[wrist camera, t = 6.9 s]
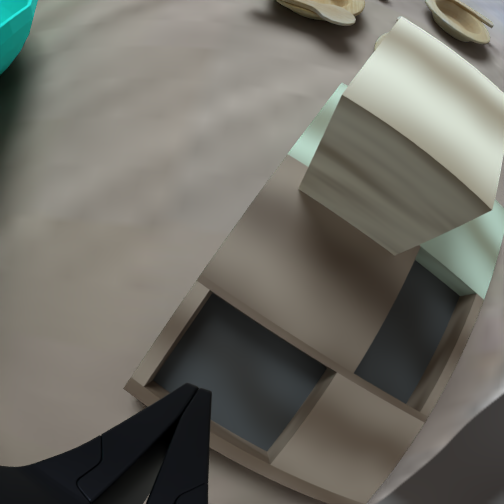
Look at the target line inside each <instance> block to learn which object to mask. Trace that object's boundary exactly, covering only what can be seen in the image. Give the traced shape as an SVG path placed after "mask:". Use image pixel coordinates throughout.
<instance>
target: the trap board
mask: <svg viewBox="0 0 504 504" xmlns="http://www.w3.org/2000/svg"><path fill="white" fill-rule="evenodd" d="M361 69H362V68H361ZM347 87H348V86H347V85H345V84H343V83H341V85H340V86H339V87H338V88H337V90H336V91H335V92H334V94H333V95H332V96H331V97H330V99H329V100H328V101H327V103H326V104H325V105H324V107H323V108H322V109H321V111H320V112H319V113H318V114H317V116H316V117H315V118H314V120H313V121H312V122H311V124H310V125H309V126H308V128H307V129H306V130H305V132H304V133H303V134H302V136H301V137H300V138H299V140H298V141H297V142H296V144H295V145H294V146H293V148H292V149H291V150H290V152H289V153H288V154H287V156H286V157H285V158H284V160H283V161H282V162H281V164H280V165H279V166H278V168H277V169H276V170H275V172H274V173H273V174H272V176H271V177H270V179H269V180H268V181H267V183H266V184H265V185H264V187H263V188H262V189H261V191H260V192H259V194H258V195H257V196H256V198H255V199H254V200H253V202H252V203H251V205H250V206H249V207H248V209H247V210H246V211H245V213H244V214H243V216H242V217H241V218H240V220H239V221H238V223H237V224H236V225H235V227H234V228H233V229H232V231H231V232H230V234H229V235H228V236H227V238H226V239H225V241H224V242H223V244H222V245H221V246H220V248H219V249H218V251H217V252H216V253H215V255H214V256H213V258H212V259H211V260H210V262H209V263H208V265H207V266H206V268H205V269H204V270H203V272H202V273H201V275H200V276H199V278H198V279H197V280H196V282H195V283H194V285H193V286H192V288H191V289H190V291H189V292H188V293H187V295H186V296H185V298H184V299H183V301H182V302H181V304H180V305H179V307H178V308H177V309H176V311H175V312H174V314H173V315H172V317H171V318H170V320H169V321H168V323H167V324H166V326H165V327H164V328H163V330H162V331H161V333H160V334H159V336H158V337H157V339H156V340H155V342H154V343H153V345H152V346H151V348H150V349H149V351H148V352H147V354H146V355H145V357H144V358H143V360H142V361H141V363H140V364H139V366H138V367H137V369H136V370H135V372H134V373H133V375H132V376H131V378H130V379H129V381H128V382H127V384H126V385H125V387H124V389H125V390H126V391H127V392H129V393H130V394H131V395H132V396H134V397H135V398H136V399H138V400H139V401H140V402H142V403H143V404H145V405H146V406H147V407H148V406H150V405H152V404H153V403H155V402H156V401H158V400H160V399H161V398H163V397H164V396H166V395H168V394H169V393H171V392H172V391H174V390H175V389H177V388H179V387H180V386H182V385H183V384H185V383H190V384H193V385H196V386H198V387H199V388H204V389H207V390H209V391H211V392H212V404H211V424H210V448H212V449H213V450H215V451H217V452H219V453H220V454H222V455H224V456H226V457H228V458H229V459H231V460H233V461H235V462H237V463H239V464H240V465H242V466H244V467H246V468H248V469H250V470H252V471H254V472H256V473H258V474H260V475H262V476H264V477H266V478H268V479H270V480H273V481H275V482H277V483H279V484H281V485H283V486H286V487H288V488H290V489H293V490H295V491H297V492H300V493H302V494H304V495H307V496H309V497H312V498H314V499H317V500H320V501H322V502H325V503H327V504H366V503H367V502H368V500H369V499H370V498H371V497H372V496H373V494H374V493H375V492H376V491H377V490H378V488H379V487H380V486H381V485H382V483H383V482H384V481H385V480H386V478H387V477H388V476H389V474H390V473H391V472H392V470H393V469H394V468H395V466H396V465H397V464H398V462H399V461H400V459H401V458H402V457H403V455H404V454H405V452H406V451H407V449H408V448H409V446H410V445H411V444H412V442H413V441H414V439H415V437H416V436H417V434H418V433H419V431H420V430H421V428H422V427H423V425H424V423H425V422H426V420H427V418H428V417H429V415H430V413H431V412H432V410H433V408H434V407H435V405H436V403H437V401H438V400H439V398H440V396H441V394H442V392H443V390H444V389H445V387H446V385H447V383H448V381H449V379H450V377H451V375H452V373H453V371H454V369H455V367H456V365H457V363H458V361H459V359H460V357H461V354H462V352H463V350H464V348H465V346H466V343H467V341H468V339H469V337H470V334H471V332H472V329H473V327H474V324H475V322H476V319H477V317H478V314H479V312H480V309H481V306H482V304H483V301H484V298H485V295H486V292H487V290H488V287H489V284H490V280H491V277H492V274H493V271H494V268H495V264H496V261H497V257H498V254H499V250H500V246H501V243H502V239H503V235H504V208H503V207H502V206H501V205H500V204H499V203H498V202H497V201H496V200H495V201H494V205H493V209H492V210H491V211H489V212H487V213H485V214H483V215H481V216H479V217H477V218H475V219H473V220H471V221H469V222H467V223H465V224H463V225H461V226H459V227H457V228H454V229H452V230H450V231H448V232H446V233H444V234H442V235H440V236H437V237H435V238H433V239H431V240H429V241H426V242H424V243H422V244H420V245H418V246H415V247H413V248H411V249H409V250H406V251H404V252H402V253H400V254H397V255H395V256H394V255H393V254H392V253H390V252H389V251H388V250H386V249H385V248H384V247H382V246H381V245H379V244H378V243H377V242H375V241H374V240H373V239H371V238H370V237H368V236H367V235H366V234H364V233H363V232H361V231H360V230H359V229H357V228H356V227H354V226H353V225H351V224H350V223H348V222H347V221H346V220H344V219H343V218H341V217H340V216H338V215H337V214H335V213H334V212H332V211H331V210H330V209H328V208H327V207H325V206H324V205H322V204H321V203H319V202H318V201H316V200H315V199H313V198H311V197H310V196H308V195H307V194H305V193H304V192H302V191H301V190H299V189H298V188H299V186H300V184H301V182H302V180H303V177H304V175H305V173H306V171H307V169H308V167H309V165H310V163H311V160H312V158H313V156H314V154H315V152H316V150H317V148H318V145H319V143H320V141H321V139H322V137H323V135H324V132H325V130H326V128H327V126H328V124H329V122H330V119H331V117H332V115H333V113H334V111H335V109H336V106H337V104H338V102H339V100H340V98H341V95H342V94H343V92H344V91H345V90H346V88H347Z"/></svg>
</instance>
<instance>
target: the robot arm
mask: <svg viewBox="0 0 504 504" xmlns="http://www.w3.org/2000/svg"><path fill="white" fill-rule="evenodd" d="M211 404H212V392H211V391H209V390H207V389H204V388H199V387H198V386H196V385H193V384H190V383H185V384H183V385H182V386H180V387H179V388H177V389H175V390H174V391H172V392H171V393H169V394H168V395H166V396H164V397H163V398H161V399H160V400H158V401H156V402H155V403H153V404H152V405H150V406H148V407H147V408H145V409H144V410H142V411H140V412H139V413H137V414H135V415H134V416H132V417H130V418H129V419H127V420H125V421H124V422H122V423H120V424H119V425H117V426H115V427H113V428H112V429H110V430H108V431H107V432H105V433H103V434H102V435H101V436H100V435H99V436H98V437H96V438H94V439H92V440H91V441H89V442H87V443H85V444H83V445H81V446H79V447H77V448H74V449H72V450H69V451H67V452H65V453H62V454H59V455H57V456H54V457H51V458H48V459H46V460H43V461H40V462H37V463H34V464H31V465H27V466H21V467H7V466H0V504H143V503H144V501H145V500H146V498H147V497H148V495H149V494H150V495H149V497H148V500H147V502H146V504H208V473H209V447H210V424H211Z"/></svg>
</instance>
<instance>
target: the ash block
mask: <svg viewBox="0 0 504 504" xmlns="http://www.w3.org/2000/svg"><path fill="white" fill-rule="evenodd" d="M503 154H504V93H503V92H502V91H501V90H500V89H499V88H498V87H497V86H495V85H494V84H493V83H492V82H491V81H490V80H489V79H488V78H486V77H485V76H484V75H483V74H482V73H481V72H479V71H478V70H477V69H476V68H475V67H473V66H472V65H471V64H470V63H468V62H467V61H466V60H465V59H463V58H462V57H461V56H459V55H458V54H457V53H455V52H454V51H453V50H451V49H450V48H449V47H447V46H446V45H445V44H443V43H442V42H440V41H439V40H437V39H436V38H435V37H433V36H432V35H430V34H429V33H427V32H426V31H424V30H423V29H421V28H419V27H418V26H416V25H415V24H413V23H411V22H410V21H408V20H406V19H405V18H403V17H401V18H400V19H399V20H398V22H397V23H396V24H395V25H394V27H393V28H392V29H391V31H390V32H389V33H388V34H387V36H386V37H385V38H384V40H383V41H382V42H381V44H380V45H379V46H378V48H377V49H376V50H375V51H374V53H373V54H372V55H371V57H370V58H369V59H368V61H367V62H366V63H365V65H364V66H363V67H362V69H361V70H360V71H359V72H358V74H357V75H356V76H355V78H354V79H353V80H352V82H351V83H350V84H349V86H348V87H347V88H346V90H345V91H344V92H343V94H342V95H341V98H340V100H339V102H338V104H337V106H336V109H335V111H334V113H333V115H332V117H331V119H330V122H329V124H328V126H327V128H326V130H325V132H324V135H323V137H322V139H321V141H320V143H319V145H318V148H317V150H316V152H315V154H314V156H313V158H312V160H311V163H310V165H309V167H308V169H307V171H306V173H305V175H304V177H303V180H302V182H301V184H300V186H299V188H298V189H299V190H301V191H302V192H304V193H305V194H307V195H308V196H310V197H311V198H313V199H315V200H316V201H318V202H319V203H321V204H322V205H324V206H325V207H327V208H328V209H330V210H331V211H332V212H334V213H335V214H337V215H338V216H340V217H341V218H343V219H344V220H346V221H347V222H348V223H350V224H351V225H353V226H354V227H356V228H357V229H359V230H360V231H361V232H363V233H364V234H366V235H367V236H368V237H370V238H371V239H373V240H374V241H375V242H377V243H378V244H379V245H381V246H382V247H384V248H385V249H386V250H388V251H389V252H390V253H392V254H393V255H394V256H395V255H397V254H400V253H402V252H404V251H406V250H409V249H411V248H413V247H415V246H418V245H420V244H422V243H424V242H426V241H429V240H431V239H433V238H435V237H437V236H440V235H442V234H444V233H446V232H448V231H450V230H452V229H454V228H457V227H459V226H461V225H463V224H465V223H467V222H469V221H471V220H473V219H475V218H477V217H479V216H481V215H483V214H485V213H487V212H489V211H491V210H492V209H493V205H494V201H495V196H496V192H497V187H498V182H499V177H500V172H501V166H502V160H503Z"/></svg>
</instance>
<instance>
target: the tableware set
mask: <svg viewBox="0 0 504 504" xmlns="http://www.w3.org/2000/svg"><path fill="white" fill-rule="evenodd" d="M276 1H277V2H278V3H280V4H282V5H283V6H285V7H287V8H289V9H291V10H292V11H293V12H295V13H297V14H299V15H301V16H304V17H307V18H311V19H316V20H326V21H328V22H331V23H334V24H337V25H343V26H350V25H353V24H354V23H355V21H356V19H355V16H357V15H359V14H360V13H361V12H362V11H363V9H364V7H365V1H364V0H276ZM425 2H426V4H427V6H428V7H429V9H430V10H431V11H432V15H433V19H434V20H435V22H436V23H437V24H438V25H439V26H440V27H441V28H442V29H443V30H444V31H445V32H447V33H448V34H449V35H451V36H452V37H454V38H456V39H458V40H460V41H463V42H470V41H473V42H475V43H478V44H487V43H489V41H490V35H489V32H488V30H487V29H486V27H485V26H484V24H486V25H487V26H489V27H491V28H492V27H493V26H494V24H493V23H492V22H491V21H490V20H489V19H487V18H486V17H484V16H483V15H481V14H480V13H478V12H477V11H475V10H473V9H472V8H470V7H469V6H467V5H465V4H464V3H462V2H460V1H459V0H425ZM401 17H402V16H400V17H398V18H397V20H396V22H398V20H399V19H400V18H401ZM403 18H404V17H403ZM406 20H407V19H406ZM482 22H483V23H484V24H483V23H482ZM387 34H388V33H386V34H383V35H382V36H380V37H379V38H378V40H377V41H376V43H375V46H374V51H375V50H376V49H377V48H378V46H379V45H380V44H381V42H382V41H383V40H384V38H385V37H386V36H387Z"/></svg>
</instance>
